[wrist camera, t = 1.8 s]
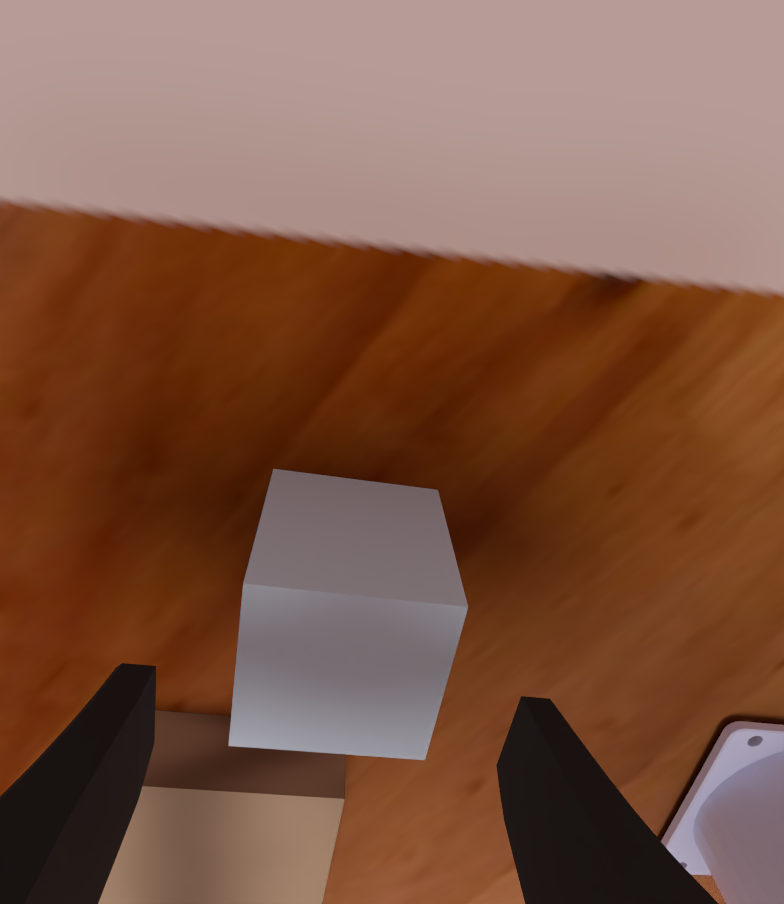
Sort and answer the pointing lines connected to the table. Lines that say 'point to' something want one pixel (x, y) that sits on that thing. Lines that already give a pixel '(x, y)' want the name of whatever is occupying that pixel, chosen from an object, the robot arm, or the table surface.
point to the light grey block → (346, 619)
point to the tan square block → (228, 821)
